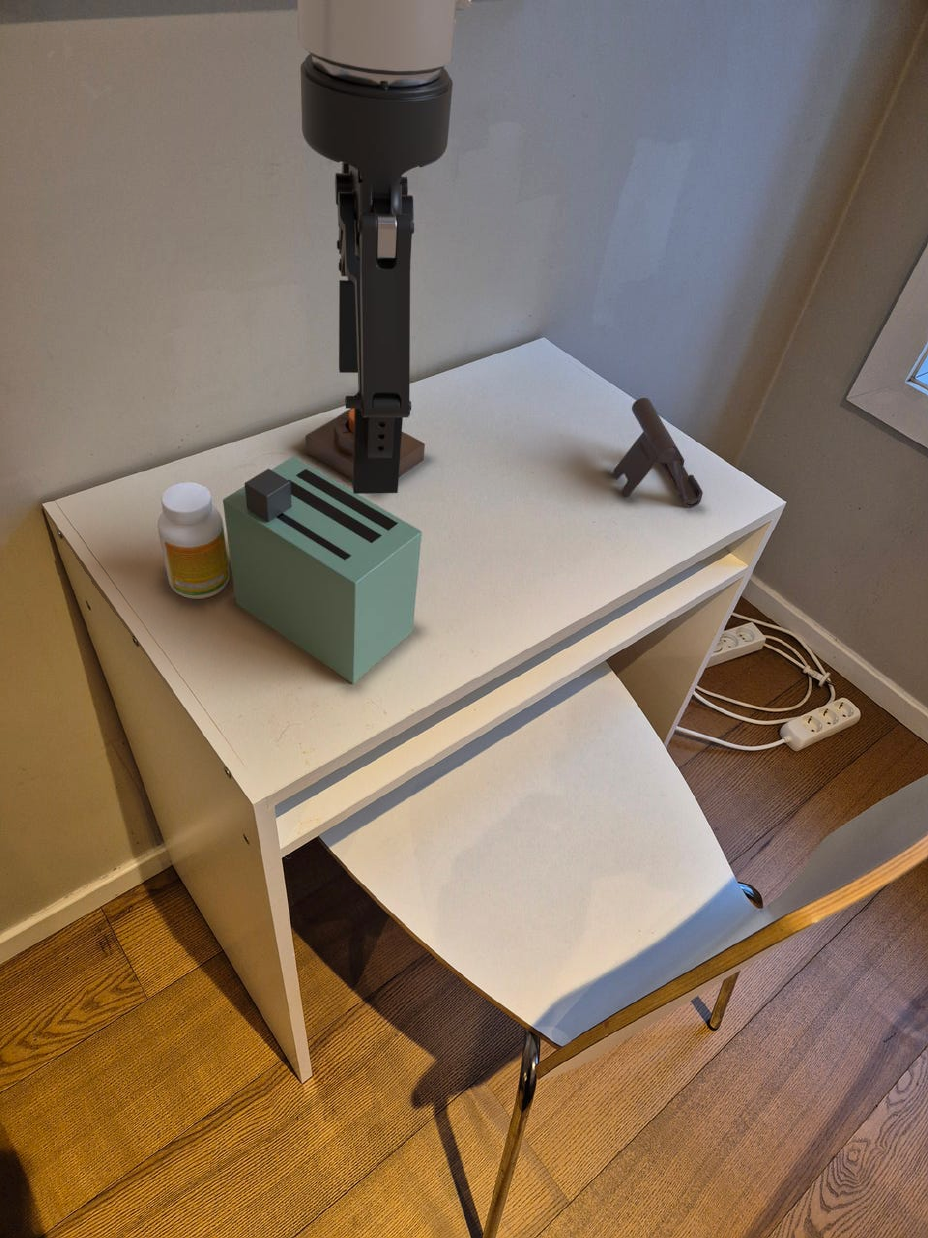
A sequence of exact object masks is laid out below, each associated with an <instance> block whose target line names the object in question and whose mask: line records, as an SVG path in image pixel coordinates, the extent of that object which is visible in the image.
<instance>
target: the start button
mask: <svg viewBox="0 0 928 1238" xmlns="http://www.w3.org/2000/svg"><path fill="white" fill-rule="evenodd" d="M349 431H350V432H351V433H352V434H354V409H351V410H350V412H349Z"/></svg>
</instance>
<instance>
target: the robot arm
mask: <svg viewBox="0 0 928 1238" xmlns="http://www.w3.org/2000/svg"><path fill="white" fill-rule="evenodd" d="M471 6H472V0H297V29H298V30H297V31H298V32H297V33H298V34H297V35H298V41H299V44H300V45H301V46H302V47H303V48H304V49H305V50H306V51H307V53H309V54H308V55H307V56H306V57H305V59H304V60H303V62H302V63H301V64H300V102H301V103H300V104H301V109H300V110H301V132H302V136H303V138H304V140H305V142H306V144H307V145H308V146H309V148H310V149H312V150H313V151H314V152H316V153H317V154H318V155H320V156H322V157H324V158H326V159H328V160H330V161H333V162H335V163H341V172H335V175H334V190H335V191H334V192H335V204H336V205H337V226H338V239H337V240H336V249H337V250H338V253H339V255H340V258H339V262H338V271H339V272H340V276H341V277H346V278H347V279H344V280H343V279H339V287H338V289H339V291H338V294H339V295H338V297H339V298H338V301H339V302H338V304H339V305H338V337H339V338H338V370H339V371H338V372H339V373H341V374H342V373H343V374H357V387H358V391H357V392H356V393H355V394H354V395H345V398H344V404H345V409H347V410H349V409H354V452H353V480H352V491H353V492H354V494H359V495H360V494H361V495H362V494H364V495H365V494H366V495H367V494H398V493H399V482H400V481H399V479H400V477H399V466H400V452H401V437H402V432H403V423H404V422H403V421H404V418H409V416H411V411H412V401H411V400H410V392H411V391H410V388H411V387H410V386H411V385H410V382H411V380H410V374H411V373H410V371H411V369H410V367H411V365H410V363H411V361H410V360H411V259H412V258H411V257H412V255H411V254H412V237H413V234H415V223H414V219H415V217H414V215H415V213H414V212H415V211H414V196H413V195H412V194H410V195H409V194H408V193H409V192H408V190H409V189H408V187H409V182H408V176H403V175H404V174H405V173H407V172H409V171H410V170H413V169H415V168H418V167H419V168H424V167H427V166H430V165H432V164H434V163H435V162H437V161H438V160H440V159H441V157H442V156H443V155H444V154H445V152H446V150H447V148H448V143H449V132H450V131H449V130H450V119H451V107H452V98H453V97H452V95H453V86H454V85H453V84H454V83H453V80H452V78H451V77H450V74H449V72H448V71H447V69H446V67H447V66H448V65H449V64H451V62H452V61H453V60H454V57H455V51H456V40H457V39H456V38H457V28H458V22H457V20H456V11H466V10H468V9H470V7H471Z"/></svg>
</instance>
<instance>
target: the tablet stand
mask: <svg viewBox="0 0 928 1238" xmlns="http://www.w3.org/2000/svg"><path fill="white" fill-rule="evenodd" d="M631 411H632V413H633V415H634V417H635V419H636V421H637V422H638V424H639V426H640V428H641V429H642V433H641V434H640V435H639V437H638V438H637V439H636V440H635V442H634V443H633V444H632V446H631V447H630V448H629V449H628V451H627V452H626V453H625V455H623V457H622V458H621V459H620V461H619V463H617V465H616V466H615V467H614V468H613V471H612V472H613V473H612V474H613V476H614V478H615V480H619V479H620V478H621V476H623V475H624V476H625V478H626V483H625V484H624V486H623V487H622V489H621V493H622V495H623V496H624V498H629V497H630V496H631V494H633V492H634V491H635V490H636V488H637V487H638V486H639V485H640V484H641V483H642V482H643V480H644V479H645V477H646V476H647V475H648V474H649V472H650V471H651V470H652V469H653V468H654V467H655V465H656V464H657V463H658V461H659V462H660V464H661V466H662V467H663V468H664V470H665V472H666V474H667V476H668V477H669V479H670V481H671V483H672V485H673V486H674V488H675V491H676V492H677V494H678V497H679V499H680V501H681V503H683V505H684V506H685V508H690V509H691V508H695V507H696V506H698V505H699V504H700V503H701V502H702V499H703V493H704V491H703V490H702V488H701V486H700V484H699V482H698V481H697V479H696V478H695V476H694V474H689V473H688V471H687V470H686V468H685V459H684V457H683V454H681V451H680V450H679V447H678V446H677V444H676V442H675V441H674V440H673V438H672V436H671V434H670V433H669V431H668V429H667V427H666V425H665V424H664V422H663V420H662V419H661V417H660V415H659V413H658V412H657V410H656V408H655V407H654V405H653V403H652V401H651V400H650V399H649V398H647V397H641V398H638V399H637V400H635V401H634V403H633V404H632V405H631Z"/></svg>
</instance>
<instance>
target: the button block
mask: <svg viewBox="0 0 928 1238" xmlns="http://www.w3.org/2000/svg"><path fill="white" fill-rule="evenodd" d="M350 410H351V409H347V410H345V411H344V412H342V413H340V414H339V415H337V416H336V417H334V418H333V419H331V420H329V421H328V422H326V423H324V424H322V425H321V426H319V427H317V428H316V429H314V430H312V431H311V432H310V433H307V434H306V435H305V436H304V440H305V441H304V442H305V453H306V454H308V455H309V456H311V457H313V458H315V459H316V460H317V461H319V462H321V463H323V464H325V465H326V466H328V467H330V468H331V469H333V470H335V471H337V472H338V473H340V474H342V475H344V476H345V477H347V478H349V479H351V480H352V481H353V452H354V434H352V433H351V432H350V431H349V412H350ZM425 446H426V443H424V442H422V441H420V440H419V439H417V438H415V437H413V436H411V435H410V434H408V433H406V432H404V431H402V437H401V452H400V466H399V478H400V477H402V476H403V475H404V474H406V473H408V472H409V471H410V470H411V469H413V468H414V467H416V466H417V465H419V464H420V463H422V462H423V461H424V459H425V448H426V447H425Z"/></svg>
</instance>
